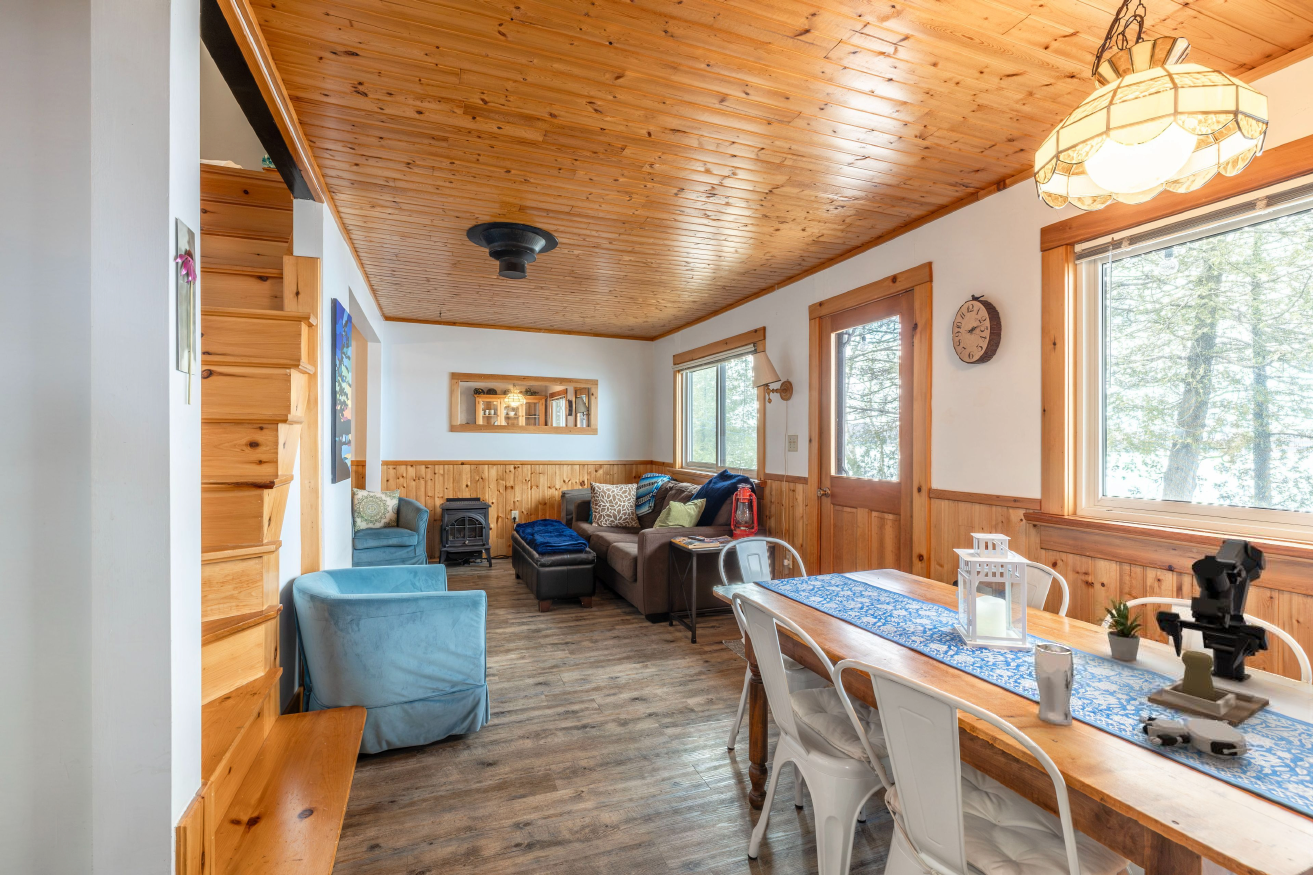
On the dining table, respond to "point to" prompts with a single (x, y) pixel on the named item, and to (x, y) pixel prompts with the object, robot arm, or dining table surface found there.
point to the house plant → (1123, 632)
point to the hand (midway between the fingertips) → (1204, 661)
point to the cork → (1198, 675)
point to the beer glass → (1054, 682)
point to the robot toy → (1197, 736)
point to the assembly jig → (1212, 703)
